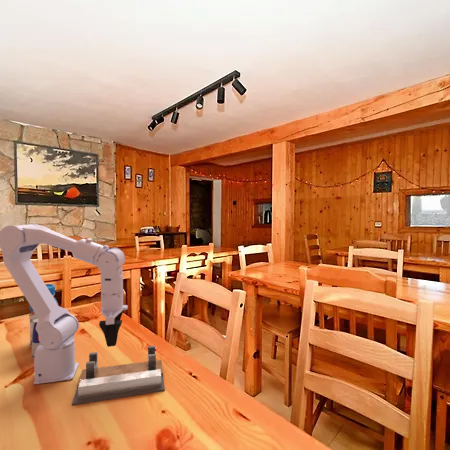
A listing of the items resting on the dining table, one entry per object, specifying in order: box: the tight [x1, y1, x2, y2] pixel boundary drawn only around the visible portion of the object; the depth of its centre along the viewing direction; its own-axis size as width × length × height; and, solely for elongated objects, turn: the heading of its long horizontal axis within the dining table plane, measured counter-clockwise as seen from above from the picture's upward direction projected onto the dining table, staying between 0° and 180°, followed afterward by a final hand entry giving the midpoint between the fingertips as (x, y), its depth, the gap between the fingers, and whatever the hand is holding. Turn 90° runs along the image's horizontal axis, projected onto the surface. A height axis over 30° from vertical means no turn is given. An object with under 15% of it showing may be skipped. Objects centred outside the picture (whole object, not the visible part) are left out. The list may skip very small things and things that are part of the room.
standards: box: [76, 345, 164, 389], centre depth 81 cm, size 22×7×6 cm, turn 106°
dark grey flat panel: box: [71, 375, 166, 406], centre depth 74 cm, size 22×6×1 cm, turn 106°
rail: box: [78, 369, 161, 399], centre depth 74 cm, size 20×3×3 cm, turn 106°
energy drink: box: [31, 317, 41, 360], centre depth 90 cm, size 5×5×12 cm
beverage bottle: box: [28, 283, 59, 348], centre depth 97 cm, size 8×8×20 cm
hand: (113, 339), depth 80 cm, fingers open, 7 cm apart
